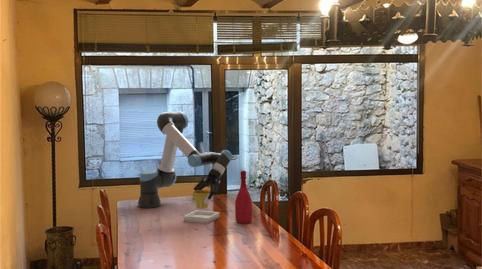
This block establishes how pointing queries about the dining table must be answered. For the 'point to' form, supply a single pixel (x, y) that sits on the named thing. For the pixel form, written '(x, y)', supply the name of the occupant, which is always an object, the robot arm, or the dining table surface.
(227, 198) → the dining table surface
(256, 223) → the dining table surface
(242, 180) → the wine bottle
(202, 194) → the plant pot
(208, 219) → the white tray
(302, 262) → the dining table surface
